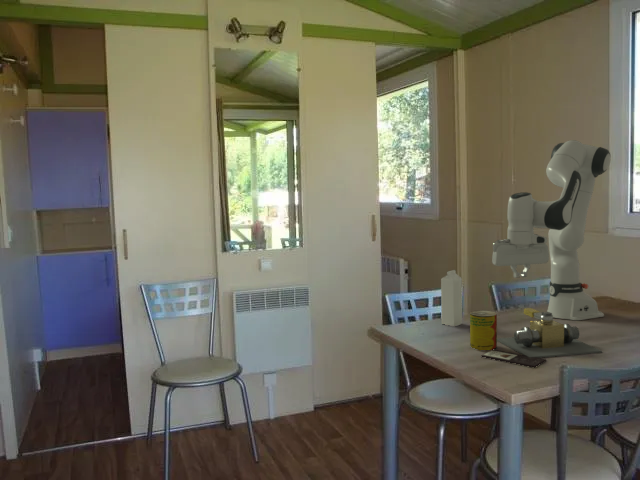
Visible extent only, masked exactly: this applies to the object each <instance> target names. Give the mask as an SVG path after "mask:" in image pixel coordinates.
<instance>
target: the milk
mask: <svg viewBox="0 0 640 480" xmlns="http://www.w3.org/2000/svg"><path fill="white" fill-rule="evenodd" d="M440 283H441V284H440V292H441V293H440V294H441V296H440V297H441V300H440V301H441V302H440V303H441V305H440V306H441V309H440V310H441V325H442V324H445V325H444V326H448V325H450V326H449V327H453V326H454V327H458V326H459V325H463V278H462V277H461V276H460V275H459V274H457V271H456V269H452V270H449V271H447V272H446V275H445V276H443V277H442V278H441V279H440Z"/></svg>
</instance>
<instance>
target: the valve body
mask: <svg viewBox="0 0 640 480" xmlns="http://www.w3.org/2000/svg"><path fill="white" fill-rule="evenodd" d="M513 337H514V339H515V342H516V343H517V344H523V345H524V346H526V347H527V346H531V345H532V344H534V345H536V346H538V347H540V348H554V347H564V343H571V342H572V341H573V339H576V340H579V338H580V330H579V328H578V327H577V326H572V325H570V323H569V324H568V323H560V322H558V321H556V320H553V323H542V322H541V320H539V319H537V320H530V321H529V327H528V326H524V327H521V328H520V330H515V332H514V334H513Z"/></svg>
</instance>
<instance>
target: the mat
mask: <svg viewBox="0 0 640 480" xmlns="http://www.w3.org/2000/svg"><path fill="white" fill-rule="evenodd" d="M498 341H499V342H498ZM497 342H498V343H500V344H502V345H504V346H506V347H508V348H509V349H511V350H512V351H514V350H515V352H516V351H517V354H520V355H521V354H522V355H526V356H527V357H537V358H542V357H545V358H554V357H555V356H557V357H565V356H567V357H568V356H578V355H589V354H601V353H603V350H601V349H600V348H597V347H595V346H591V345H590V344H587V343H585V342H583V341H580V340H579V339H573V341H572V342H571V343H564V347H554V348H540V347H538V346H536V345H534V344H532V345H531V346H527V347H526V346H524V345H523V344H517V343H516V342H515V339H514V336H513V337H511V336H510V337H497ZM542 359H543V358H542Z"/></svg>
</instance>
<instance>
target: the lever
mask: <svg viewBox="0 0 640 480" xmlns="http://www.w3.org/2000/svg"><path fill="white" fill-rule="evenodd" d="M523 315H526V316H528V317H530V318H535V319H537V320H541V322H542V323H553V321H554V317H553V315H552V313H550V312H547V311H542V312H540V311H539V310H537V309H535V308H531V307H526V308H523Z"/></svg>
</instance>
